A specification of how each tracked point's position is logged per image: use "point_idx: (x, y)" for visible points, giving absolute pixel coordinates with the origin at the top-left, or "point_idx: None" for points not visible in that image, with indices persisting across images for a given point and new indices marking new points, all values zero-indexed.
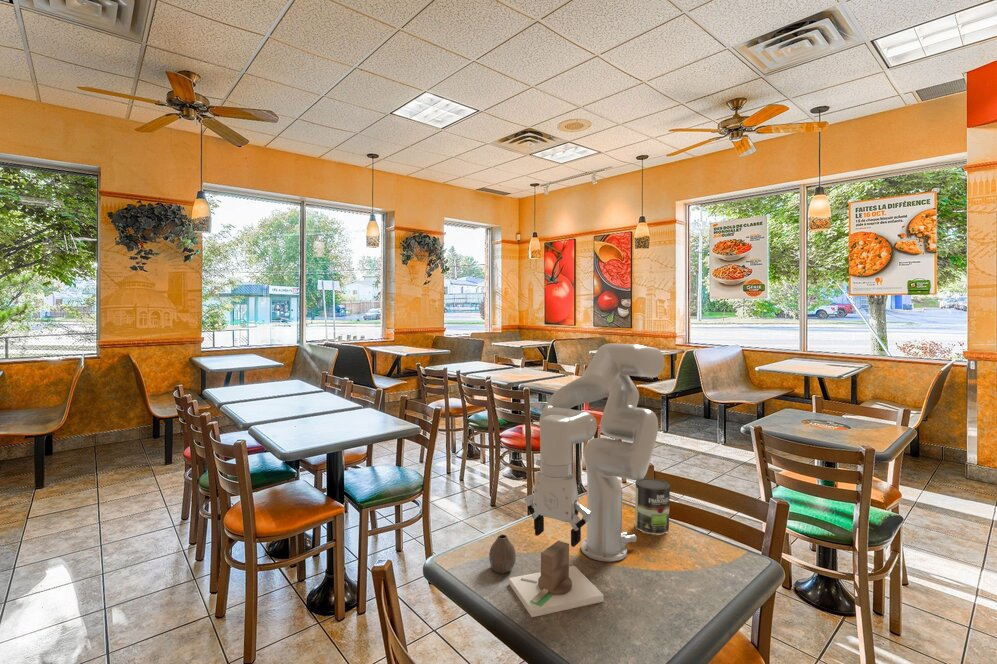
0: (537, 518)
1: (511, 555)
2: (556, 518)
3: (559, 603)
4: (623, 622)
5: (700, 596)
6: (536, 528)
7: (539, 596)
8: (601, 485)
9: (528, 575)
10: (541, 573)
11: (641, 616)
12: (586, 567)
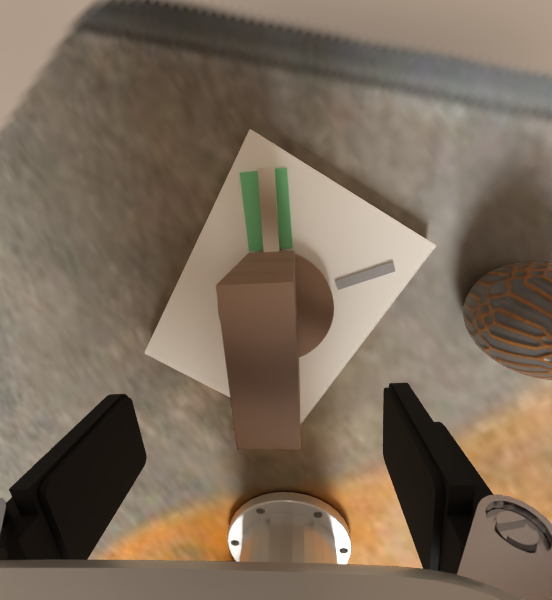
0: (459, 518)
1: (494, 319)
2: (60, 583)
3: (208, 232)
4: (63, 297)
5: None
6: (412, 417)
7: (261, 195)
8: None
9: (384, 303)
10: (290, 259)
11: (53, 346)
12: (281, 451)
